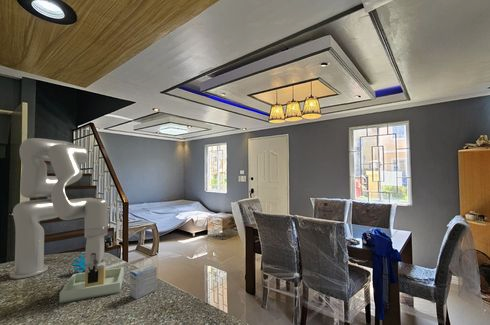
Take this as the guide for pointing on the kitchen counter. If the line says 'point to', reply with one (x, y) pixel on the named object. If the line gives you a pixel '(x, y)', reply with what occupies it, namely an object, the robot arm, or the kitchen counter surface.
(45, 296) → the kitchen counter surface
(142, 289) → the medicine box
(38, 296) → the kitchen counter surface
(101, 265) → the tan and white block
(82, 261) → the gear
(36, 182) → the robot arm
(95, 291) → the parts tray
